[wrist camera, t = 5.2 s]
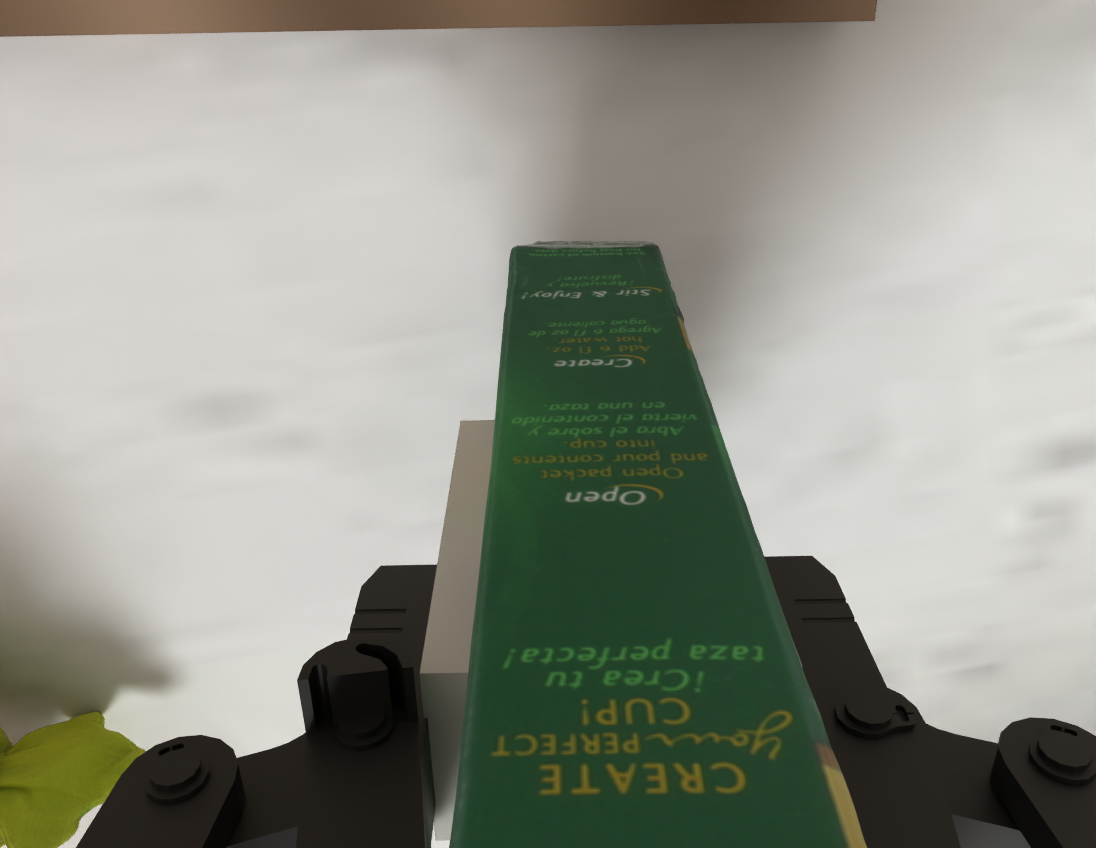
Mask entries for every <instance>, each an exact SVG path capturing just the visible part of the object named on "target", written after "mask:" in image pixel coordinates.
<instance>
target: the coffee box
mask: <svg viewBox="0 0 1096 848" xmlns="http://www.w3.org/2000/svg"><path fill="white" fill-rule="evenodd" d="M670 284H671V282H670V280H669V278H668V275H667V272H666V268H665V265H664V261H663V258H662V255H661V252H660V249H659V247H658V246H657V245H655V244H654V243H651V242H627V241H624V242H606V241H604V242H579V241H575V242H563V241H553V242H540V241H538V242H536V243H534V244H532V245H522V246H516V247H514V248H513V249H512V250H511V254H510V260H509V276H508V288H507V297H506V307H505V313H504V323H503V334H502V345H501V356H500V368H499V379H498V390H497V403H496V416H495V426H494V435H493V448H492V461H491V469H490V478H489V486H488V494H487V503H486V511H485V521H484V530H483V540H482V549H481V559H480V568H479V578H478V587H477V596H476V605H475V614H474V622H473V631H472V639H471V650H470V660H469V671H468V681H467V691H466V700H465V710H464V719H463V728H462V738H461V749H460V760H459V771H458V780H457V790H456V799H455V806H454V814H453V822H452V830H451V838H450V846H449V848H867V846H866V844H865V841H864V838H863V835H862V831H861V828H860V824H859V821H858V818H857V814H856V811H855V808H854V805H853V802H852V799H851V796H850V793H849V790H848V788H847V785H846V782H845V779H844V776H843V774H842V772H841V769H840V767H839V765H838V762H837V760H836V757H835V755H834V753H833V750H832V748H831V745H830V743H829V739H828V736H827V733H826V730H825V727H824V724H823V721H822V718H821V715H820V712H819V709H818V707H817V705H816V702H815V700H814V697H813V695H812V692H811V690H810V687H809V685H808V683H807V680H806V677H805V674H804V672H803V669H802V666H801V663H800V660H799V657H798V654H797V651H796V648H795V645H794V642H793V639H792V636H791V633H790V630H789V627H788V625H787V622H786V619H785V616H784V614H783V611H782V608H781V605H780V602H779V600H778V597H777V594H776V591H775V588H774V585H773V582H772V579H771V576H770V573H769V570H768V567H767V564H766V561H765V558H764V555H763V552H762V549H761V546H760V543H759V541H758V538H757V536H756V533H755V531H754V527H753V524H752V521H751V518H750V515H749V512H748V509H747V506H746V503H745V501H744V498H743V496H742V493H741V490H740V487H739V485H738V482H737V479H736V476H735V473H734V470H733V467H732V464H731V461H730V458H729V455H728V452H727V450H726V447H725V444H724V441H723V438H722V435H721V432H720V429H719V425H718V422H717V419H716V416H715V413H714V410H713V407H712V404H711V401H710V399H709V396H708V394H707V391H706V388H705V385H704V382H703V379H702V376H701V374H700V371H699V368H698V365H697V361H696V359H695V357H694V354H693V351H692V348H691V345H690V343H689V340H688V337H687V334H686V331H685V328H684V318H683V315H682V313H681V311H680V309H679V307H678V305H677V302H676V296H675V293H674V292H673V290H672V288H671V285H670Z"/></svg>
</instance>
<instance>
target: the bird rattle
mask: <svg viewBox="0 0 1096 848" xmlns="http://www.w3.org/2000/svg"><path fill="white" fill-rule="evenodd" d="M104 723H105V722H104V716H103V715H102V714H101V713H99V712H91V713H86V714H83V715H80V716H77V717H74V718H72V719H70V720H68V721H65V722H62V723H58V724H54V725H50V726H46V727H43V728H40V729H38V730H35V731H33V732H31V733H29V734H27V735H25V736H24V737H23V738H22V739H21V740H20V741H19V742H18V743H17V744H15V745H14V746H13V745H12V744H11V742H10V741H9V739H8V738H7V736H6V735H5V734H4V732H3V730H2V729H1V728H0V848H1V847H2V846H3V845H5V844H6V846H7V847H8V848H58V847H59V846H61V845H62V844H63V843H65V842H66V841H68V840H69V839H70V838H71V837H72V836H73V835H74V834H75V832H76V830H77V828H78V825H79V821H80V819H81V818H82V817H83V816H84V815H85V814H86V813H87V812H89V811H90V810H91V809H93V808H94V807H95V806H98V805H100V804H103V803H104V802H105V800H106V799H107V797H108V795H109V794H110V792H111V791H112V789H113V787H114V786H115V784H116V782H117V781H118V779H119V778H120V776H121V774H122V773H123V772H124V771H125V770H126V769H127V768H128V767H129V765H130V764H131V763H132V762H133V761H134V760H135V759H136V758H137V757H138V756H140V755H142V754H143V753H145V752H146V751H145V750H144V749H141V748H139V747H137V746H136V745H135V744H134V743H133V742H131V741H130V740H129V739H127V738H126V737H125V736H123V735H122V734H120V733H119V732H114V731H110V730H107V729H105V728H104Z"/></svg>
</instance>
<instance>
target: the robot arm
mask: <svg viewBox="0 0 1096 848" xmlns="http://www.w3.org/2000/svg"><path fill="white" fill-rule="evenodd" d="M494 426H495V420H480V421H461V422H460V428H459V434H458V440H457V447H456V453H455V459H454V465H453V471H452V477H451V483H450V490H449V496H448V502H447V508H446V514H445V520H444V526H443V533H442V539H441V545H440V551H439V557H438V563H437V565H396V566H380V567H379V568H378V569H377V570H376V572H375V573H374V574H373V575H372V576H371V577H370V578H369V579H368V580H367V581H366V582H365V583H364V584H363V585H362V587H361V590H360V594H359V598H358V601H357V605H356V608H355V614H354V616H353V619H352V623H351V627H350V633H349V634H348V638H347V640H343V641H339V642H335V643H333V644H331V645H329V646H327V647H325V648H323V649H321V650H320V651H318V652H316V653H315V654H314V655H313V656H312V657H311V658H310V659H309V660H308V661H307V662H306V663H305V664H304V665H303V667H302V669H301V672H300V674H299V677H298V679H297V682H298V688H299V694H300V700H301V706H302V711H303V717H304V723H305V729H306V733H304V734H303V735H301V736H300V737H298V738H296V739H294V740H292V741H291V742H289V743H287V744H284V745H281V746H278V747H275V748H272V749H269V750H265V751H262V752H258V753H254V754H250V755H247V756H243V757H239V758H236V756H235V753H234V750H233V749H232V748H231V747H230V746H228V745H227V744H226V743H224V742H223V741H222V740H220V739H217V738H212V737H208V736H203V735H196V736H185V737H178V738H175V739H172V740H169V741H166V742H163V743H161V744H158V745H155V746H154V747H152V748H151V749H149V750H148V751H146V752H145V753H143V754H142V755H140V756H138V757H137V758H136V759H135V760H134V761H133V762H132V763H131V764H130V765H129V767H128V768H127V769H126V770H125V771H124V772H123V773H122V774H121V776H120V778H119V779H118V781H117V782H116V784H115V786H114V787H113V789H112V791H111V792H110V794H109V795H108V797H107V799H106V800H105V802H104V803H103V805H102V807H101V808H100V810H99V811H98V813H97V815H96V816H95V818H94V820H93V821H92V823H91V824H90V826H89V828H88V829H87V831H86V832H85V834H84V836H83V837H82V839H81V841H80V842H79V844H78V845H77V847H76V848H431V839H432V831H433V822H434V830H435V840H436V841H439V840H450V838H451V830H452V822H453V814H454V806H455V799H456V790H457V780H458V771H459V760H460V749H461V738H462V728H463V719H464V710H465V700H466V691H467V681H468V671H469V660H470V650H471V639H472V631H473V622H474V614H475V605H476V596H477V587H478V578H479V568H480V559H481V549H482V540H483V530H484V521H485V511H486V503H487V494H488V486H489V478H490V469H491V461H492V448H493V435H494ZM764 558H765V561H766V564H767V567H768V570H769V573H770V576H771V579H772V582H773V585H774V588H775V591H776V594H777V597H778V600H779V602H780V605H781V608H782V611H783V614H784V616H785V619H786V622H787V625H788V627H789V630H790V633H791V636H792V639H793V642H794V645H795V648H796V651H797V654H798V657H799V660H800V663H801V666H802V669H803V672H804V674H805V677H806V680H807V683H808V685H809V687H810V690H811V692H812V695H813V697H814V700H815V702H816V705H817V707H818V709H819V712H820V715H821V718H822V721H823V724H824V727H825V730H826V733H827V736H828V739H829V743H830V745H831V748H832V750H833V753H834V755H835V757H836V760H837V762H838V765H839V767H840V769H841V772H842V774H843V776H844V779H845V782H846V785H847V788H848V790H849V793H850V796H851V799H852V802H853V805H854V808H855V811H856V814H857V818H858V821H859V824H860V828H861V831H862V835H863V838H864V841H865V844H866V846H867V848H1096V736H1095V735H1093V734H1091V733H1089V732H1087V731H1085V730H1084V729H1082V728H1080V727H1078V726H1075V725H1072V724H1069V723H1065V722H1062V721H1058V720H1055V719H1047V718H1027V719H1023V720H1019V721H1015V722H1012V723H1011V724H1010V725H1009V726H1008V727H1007V728H1005V729H1004V730H1003V731H1002V732H1001V734H1000V738H999V742H998V743H993V742H988V741H984V740H979V739H975V738H970V737H965V736H961V735H956V734H953V733H949V732H946V731H943V730H939V729H937V728H934V727H932V726H930V725H928V724H926V723H925V722H924V720H923V718H922V716H921V714H920V713H919V711H918V709H917V707H915V706H914V705H913V704H912V703H911V702H910V701H908V700H907V699H906V698H905V697H904V696H903V695H901V694H899V693H897V692H895V691H893V690H891V689H889V688H887V687H886V684H885V682H884V680H883V678H882V676H881V674H880V672H879V669H878V667H877V665H876V663H875V661H874V659H873V656H872V654H871V652H870V650H869V648H868V646H867V644H866V641H865V639H864V637H863V635H862V633H861V631H860V628H859V626H858V624H857V622H855V621H854V616H853V613H852V611H851V609H850V607H849V605H848V603H846V598H845V596H844V594H843V592H842V590H841V588H840V585H839V583H838V581H837V579H836V577H835V575H834V574H832V573H831V572H830V571H829V570H828V569H827V568H825V567H824V566H823V565H822V564H821V563H820V562H818V561H817V560H816V559H815V558H814V557H813V556H777V557H764Z"/></svg>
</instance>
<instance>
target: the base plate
mask: <svg viewBox="0 0 1096 848" xmlns="http://www.w3.org/2000/svg"><path fill="white" fill-rule="evenodd" d="M876 5H877V0H0V37H4V36H60V35H115V34H170V33H226V32H281V31H336V30H392V29H447V28H502V27H558V26H613V25H668V24H724V23H779V22H835V21H874V20H875V13H876Z"/></svg>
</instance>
